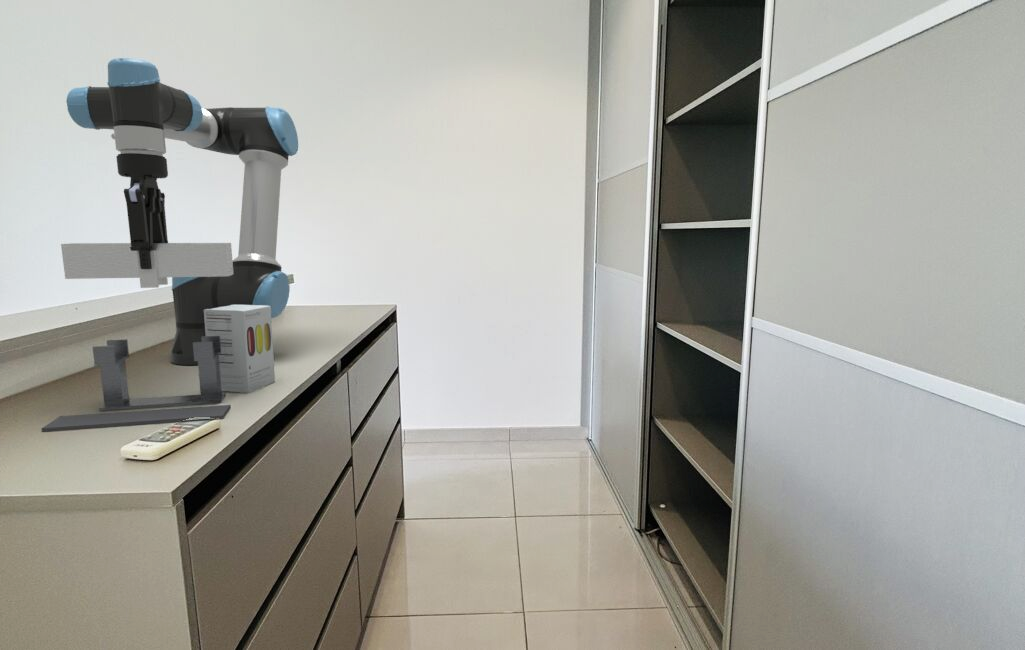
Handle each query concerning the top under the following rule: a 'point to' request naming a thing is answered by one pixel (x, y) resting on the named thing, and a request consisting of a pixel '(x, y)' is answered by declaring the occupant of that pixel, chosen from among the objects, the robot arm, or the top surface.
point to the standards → (118, 397)
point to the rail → (124, 262)
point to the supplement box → (243, 345)
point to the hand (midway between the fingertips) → (154, 285)
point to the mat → (134, 418)
